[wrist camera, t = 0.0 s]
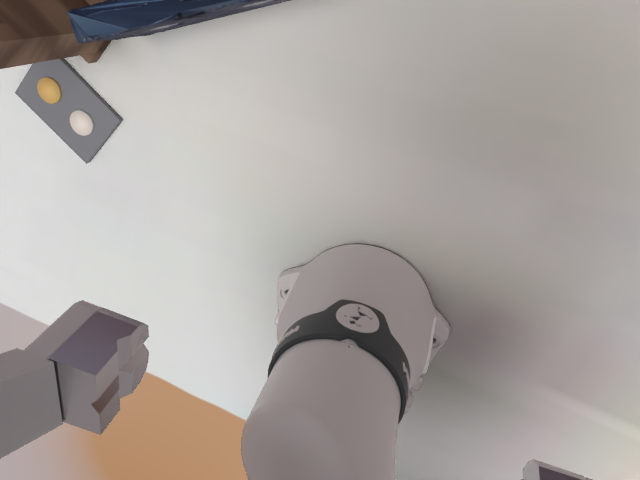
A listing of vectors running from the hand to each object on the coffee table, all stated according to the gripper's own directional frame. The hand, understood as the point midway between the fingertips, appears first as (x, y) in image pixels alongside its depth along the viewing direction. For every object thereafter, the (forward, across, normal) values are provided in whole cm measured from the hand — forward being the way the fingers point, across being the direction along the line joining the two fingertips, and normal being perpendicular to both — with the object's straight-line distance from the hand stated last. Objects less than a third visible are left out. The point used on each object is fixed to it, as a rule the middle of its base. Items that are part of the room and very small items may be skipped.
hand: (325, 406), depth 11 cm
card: (+38, -35, -15) cm, 53 cm away
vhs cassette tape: (+39, -19, -1) cm, 44 cm away
